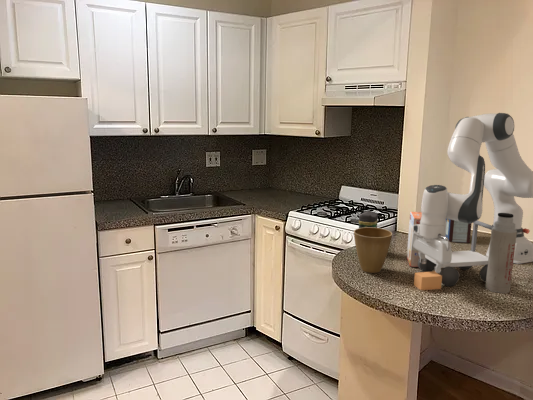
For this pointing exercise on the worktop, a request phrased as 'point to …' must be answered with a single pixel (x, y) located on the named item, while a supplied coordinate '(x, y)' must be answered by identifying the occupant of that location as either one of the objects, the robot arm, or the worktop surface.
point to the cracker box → (411, 251)
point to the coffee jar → (368, 219)
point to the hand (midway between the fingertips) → (429, 267)
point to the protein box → (458, 231)
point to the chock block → (427, 280)
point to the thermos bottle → (501, 254)
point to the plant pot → (372, 247)
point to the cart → (460, 260)
